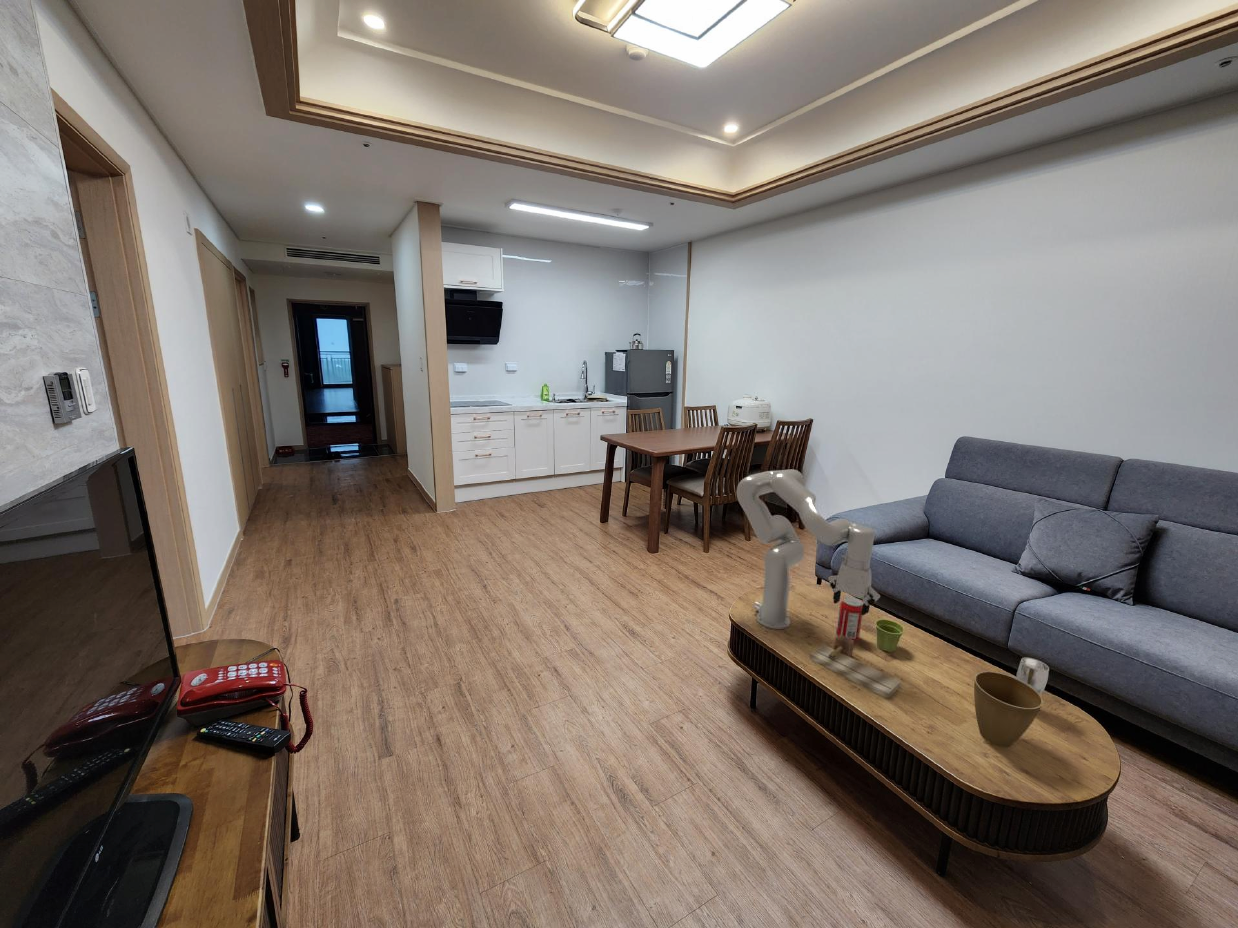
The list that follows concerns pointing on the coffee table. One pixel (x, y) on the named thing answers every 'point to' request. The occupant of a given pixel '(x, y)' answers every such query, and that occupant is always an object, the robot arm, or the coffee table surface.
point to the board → (856, 671)
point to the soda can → (850, 618)
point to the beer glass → (1033, 673)
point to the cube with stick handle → (842, 646)
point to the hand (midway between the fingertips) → (850, 607)
